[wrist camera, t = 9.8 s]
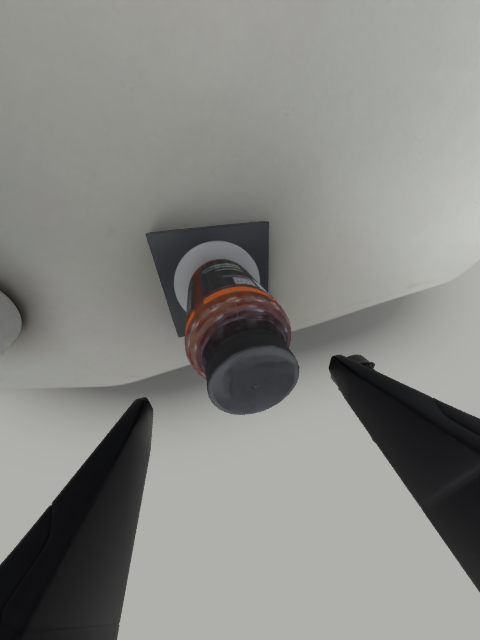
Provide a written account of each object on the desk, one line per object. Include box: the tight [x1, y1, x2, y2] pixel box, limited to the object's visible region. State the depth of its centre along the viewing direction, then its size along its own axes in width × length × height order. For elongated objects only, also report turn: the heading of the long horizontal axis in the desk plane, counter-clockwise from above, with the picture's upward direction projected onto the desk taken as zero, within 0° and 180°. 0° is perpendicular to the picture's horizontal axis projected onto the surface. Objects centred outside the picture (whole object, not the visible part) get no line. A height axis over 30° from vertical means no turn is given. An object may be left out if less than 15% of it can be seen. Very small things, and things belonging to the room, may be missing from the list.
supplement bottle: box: [185, 259, 299, 415], centre depth 12 cm, size 6×6×11 cm
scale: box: [146, 221, 269, 337], centre depth 18 cm, size 10×10×2 cm
